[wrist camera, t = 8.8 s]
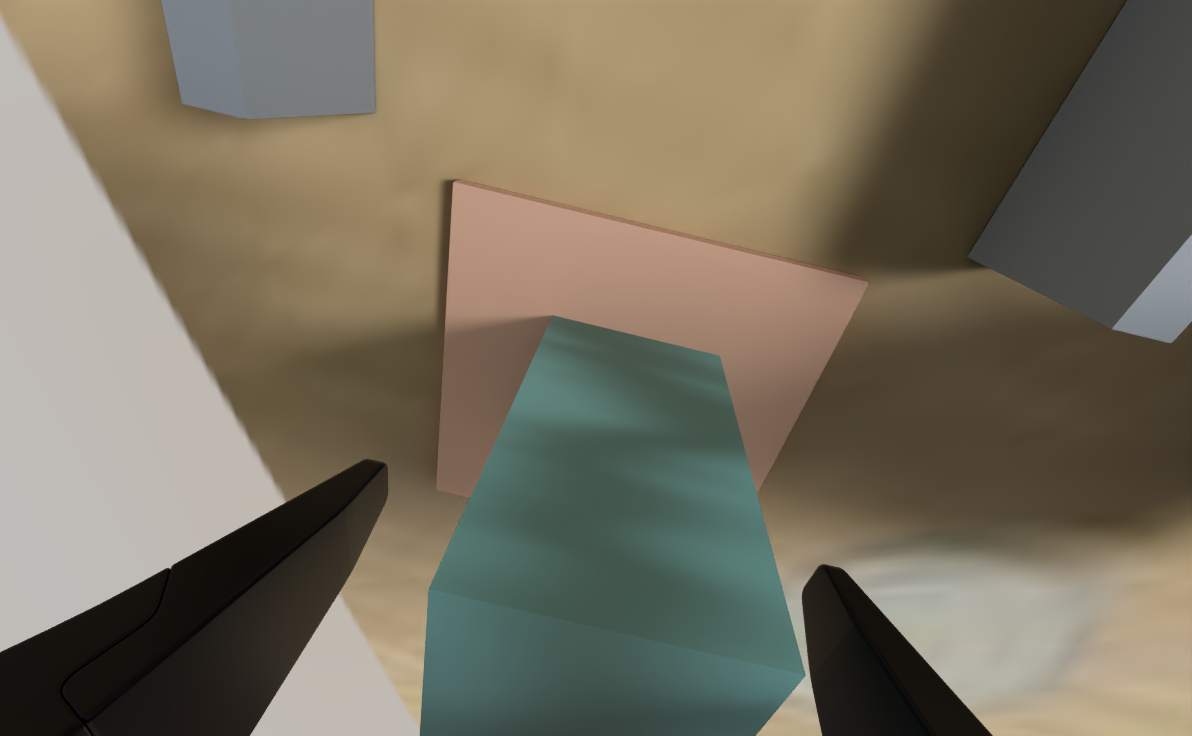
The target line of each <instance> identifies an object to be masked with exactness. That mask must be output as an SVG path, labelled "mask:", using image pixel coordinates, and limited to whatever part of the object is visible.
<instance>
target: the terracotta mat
mask: <svg viewBox="0 0 1192 736" xmlns="http://www.w3.org/2000/svg"><path fill="white" fill-rule="evenodd" d="M869 283H870V282H869V281H867V280H866V279H865V278H864V277H861V276H857V275H852V274H848V273H844V272H840V271H836V270H832V269H828V268H824V267H819V266H815V265H811V264H807V263H803V262H799V261H795V260H790V259H786V258H782V257H778V256H774V255H770V254H766V253H762V252H757V251H753V250H749V249H745V248H741V247H737V246H733V245H728V244H724V243H720V242H716V241H712V240H708V239H704V238H700V237H695V236H691V235H687V234H683V233H679V232H675V231H671V230H666V229H662V228H658V227H654V226H650V225H646V224H642V223H638V222H633V221H629V220H625V219H621V218H617V217H613V216H609V215H604V214H600V213H596V212H592V211H588V210H584V209H580V208H576V207H571V206H567V205H563V204H559V203H555V202H551V201H547V200H542V199H538V198H534V197H530V196H526V195H522V194H518V193H514V192H509V191H505V190H501V189H497V188H493V187H489V186H485V185H480V184H476V183H472V182H468V181H464V180H460V179H459V180H456V181H454V182H453V192H452V210H451V228H450V246H449V264H448V282H447V300H446V318H445V336H444V354H443V372H442V390H441V408H440V426H439V444H438V462H437V480H436V491H441V492H445V493H449V494H454V495H458V496H462V497H467V498H470V497H471V495H472V492H473V490H474V488H475V486H476V484H477V481H478V479H479V477H480V475H481V473H482V470H483V468H484V466H485V464H486V461H487V459H488V457H489V455H490V453H491V450H492V448H493V446H494V444H495V442H496V439H497V437H498V435H499V433H500V431H501V428H502V426H503V424H504V422H505V420H506V417H507V415H508V413H509V411H510V408H511V406H512V404H513V402H514V400H515V397H516V395H517V393H518V391H519V389H520V386H521V384H522V382H523V380H524V378H525V375H526V373H527V371H528V369H529V367H530V364H531V362H532V360H533V358H534V355H535V353H536V351H537V349H538V347H539V344H540V342H541V340H542V338H543V336H544V333H545V331H546V329H547V327H548V325H549V322H550V320H551V318H552V316H553V315H554V316H558V317H562V318H566V319H571V320H575V321H579V322H583V323H587V324H591V325H595V326H599V327H604V328H608V329H612V330H616V331H620V332H624V333H628V334H632V335H637V336H641V337H645V338H649V339H653V340H657V341H661V342H665V343H670V344H674V345H678V346H682V347H686V348H690V349H694V350H699V351H703V352H707V353H711V354H715V355H719V356H720V358H721V362H722V366H723V370H724V373H725V377H726V381H727V384H728V388H729V392H730V396H731V399H732V403H733V407H734V410H735V414H736V418H737V422H738V425H739V429H740V433H741V437H742V440H743V444H744V448H745V451H746V455H747V459H748V463H749V466H750V470H751V474H752V477H753V481H754V485H755V489H756V492H757V494H758V492H759V490H760V488H761V486H762V485H763V483H764V481H765V479H766V477H767V475H768V473H769V471H770V470H771V468H772V466H773V464H774V462H775V460H776V458H777V456H778V455H779V453H780V451H781V449H782V447H783V445H784V443H785V441H786V439H787V438H788V436H789V434H790V432H791V430H792V428H793V426H794V424H795V423H796V421H797V419H798V417H799V415H800V413H801V411H802V409H803V408H804V406H805V404H806V402H807V400H808V398H809V396H810V394H811V392H812V391H813V389H814V387H815V385H816V383H817V381H818V379H819V377H820V376H821V374H822V372H823V370H824V368H825V366H826V364H827V362H828V361H829V359H830V357H831V355H832V353H833V351H834V349H835V347H836V345H837V344H838V342H839V340H840V338H841V336H842V334H843V332H844V330H845V329H846V327H847V325H848V323H849V321H850V319H851V317H852V315H853V313H854V312H855V310H856V308H857V306H858V304H859V302H860V300H861V298H862V297H863V295H864V293H865V291H866V289H867V287H868V285H869Z"/></svg>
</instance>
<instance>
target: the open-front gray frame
mask: <svg viewBox="0 0 1192 736" xmlns="http://www.w3.org/2000/svg"><path fill="white" fill-rule="evenodd" d="M161 3H162V8H163V13H164V17H165V22H166V27H167V32H168V37H169V42H170V47H171V52H172V57H173V62H174V67H175V72H176V77H177V82H178V87H179V91H180V96H181V101H182V104H185V105H189V106H193V107H197V108H201V109H206V110H210V111H214V112H218V113H222V114H226V115H230V116H234V117H239V118H243V119H262V118H282V117H301V116H321V115H341V114H360V113H376V100H375V53H374V5H373V0H161ZM967 257H968V258H970V259H972V260H974V261H976V262H978V263H980V264H982V265H984V266H986V267H988V268H990V269H992V270H994V271H996V272H998V273H1000V274H1002V275H1004V276H1006V277H1008V278H1010V279H1012V280H1014V281H1016V282H1018V283H1020V284H1022V285H1025V286H1027V287H1029V288H1031V289H1033V290H1035V291H1037V292H1039V293H1041V294H1043V295H1045V296H1047V297H1049V298H1051V299H1053V300H1055V301H1057V302H1059V303H1061V304H1063V305H1065V306H1067V307H1069V308H1071V309H1073V310H1075V311H1077V312H1079V313H1081V314H1083V315H1085V316H1087V317H1089V318H1091V319H1093V320H1095V321H1097V322H1099V323H1101V324H1103V325H1105V326H1107V327H1109V328H1111V329H1114V330H1118V331H1122V332H1126V333H1130V334H1134V335H1138V336H1142V337H1147V338H1151V339H1155V340H1159V341H1163V342H1167V343H1172V342H1173V341H1174V340H1175V339H1176V338H1177V337H1178V336H1179V335H1180V334H1181V332H1182V331H1183V330H1184V329H1185V328H1186V327H1187V326H1188V325H1189V324H1190V323H1191V322H1192V0H1127V1H1126V3H1125V5H1124V6H1123V8H1122V9H1121V11H1120V13H1119V14H1118V16H1117V17H1116V19H1115V21H1114V22H1113V24H1112V25H1111V27H1110V29H1109V30H1108V32H1107V34H1106V35H1105V37H1104V38H1103V40H1102V42H1101V43H1100V45H1099V46H1098V48H1097V50H1096V51H1095V53H1094V54H1093V56H1092V58H1091V59H1090V61H1089V62H1088V64H1087V66H1086V67H1085V69H1084V70H1083V72H1082V74H1081V75H1080V77H1079V78H1078V80H1077V82H1076V83H1075V85H1074V86H1073V88H1072V90H1071V91H1070V93H1069V94H1068V96H1067V98H1066V99H1065V101H1064V102H1063V104H1062V106H1061V107H1060V109H1059V111H1058V112H1057V114H1056V115H1055V117H1054V119H1053V120H1052V122H1051V123H1050V125H1049V127H1048V128H1047V130H1046V131H1045V133H1044V135H1043V136H1042V138H1041V139H1040V141H1039V143H1038V144H1037V146H1036V147H1035V149H1034V151H1033V152H1032V154H1031V155H1030V157H1029V159H1028V160H1027V162H1026V163H1025V165H1024V167H1023V168H1022V170H1021V171H1020V173H1019V175H1018V176H1017V178H1016V179H1015V181H1014V183H1013V184H1012V186H1011V187H1010V189H1009V191H1008V192H1007V194H1006V196H1005V197H1004V199H1003V200H1002V202H1001V204H1000V205H999V207H998V208H997V210H996V212H995V213H994V215H993V216H992V218H991V220H990V221H989V223H988V224H987V226H986V228H985V229H984V231H983V232H982V234H981V236H980V237H979V239H978V240H977V242H976V244H975V245H974V247H973V248H972V250H971V252H970V253H969V255H968V256H967Z"/></svg>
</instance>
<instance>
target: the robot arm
mask: <svg viewBox="0 0 1192 736" xmlns="http://www.w3.org/2000/svg"><path fill="white" fill-rule="evenodd" d="M387 496H388V467H387V465H386V464H385V463H384V462H379V461H375V460H371V459H366V460H363V461H361V462H359V463H357V464H355V465H353V466H352V467H350V468H348V469H346V470H344V471H342V472H341V473H339V474H337V475H335V476H333V477H332V478H330V479H328V480H326V481H324V482H323V483H321V484H319V485H317V486H315V487H313V488H312V489H310V490H308V491H306V492H304V493H303V494H301V495H299V496H297V497H295V498H293V499H292V500H290V501H288V502H286V503H284V504H283V505H281V506H279V507H277V508H276V509H274V510H272V511H270V512H268V513H266V514H264V515H263V516H261V517H259V518H257V519H255V520H254V521H252V522H250V523H248V524H246V525H244V526H243V527H241V528H239V529H237V530H235V531H234V532H232V533H230V534H228V535H226V536H224V537H223V538H221V539H219V540H217V541H215V542H214V543H212V544H210V545H208V546H206V547H204V548H203V549H201V550H199V551H197V552H196V553H194V554H192V555H190V556H188V557H186V558H185V559H183V560H181V561H179V562H177V563H176V564H174V565H173V566H172V567H171V569H169V568H166V569H164V570H163V571H161V572H159V573H157V574H155V575H153V576H152V577H150V578H148V579H146V580H144V581H143V582H141V583H139V584H137V585H135V586H133V587H131V588H129V589H127V590H125V591H124V592H122V593H120V594H118V595H116V596H114V597H112V598H111V599H109V600H107V601H105V602H103V603H101V604H100V605H97V606H95V607H93V608H91V609H89V610H87V611H85V612H83V613H81V614H79V615H77V616H75V617H73V618H71V619H69V620H66V621H64V622H62V623H61V624H58V625H56V626H55V627H52V628H50V629H48V630H46V631H44V632H42V633H40V634H38V635H35V636H33V637H32V638H29V639H27V640H25V641H23V642H21V643H19V644H17V645H14V646H12V647H10V648H8V649H6V650H4V651H2V652H0V736H250V734H251V733H252V731H253V730H254V728H255V727H256V725H257V723H258V722H259V720H260V719H261V717H262V715H263V714H264V712H265V711H266V709H267V707H268V706H269V704H270V703H271V701H272V699H273V698H274V696H275V695H276V693H277V691H278V690H279V688H280V686H281V685H282V683H283V682H284V680H285V679H286V677H287V675H288V674H289V672H290V671H291V669H292V667H293V666H294V664H295V663H296V661H297V659H298V658H299V656H300V655H301V653H302V651H303V650H304V648H305V647H306V645H307V643H308V642H309V640H310V639H311V637H312V635H313V634H314V632H315V630H316V629H317V627H318V626H319V624H320V623H321V621H322V619H323V618H324V616H325V614H326V613H327V611H328V609H329V608H330V607H331V605H332V603H333V602H334V600H335V599H336V597H337V595H338V594H339V592H340V591H341V589H342V587H343V586H344V584H345V582H346V581H347V579H348V577H349V576H350V574H351V572H352V570H353V568H354V566H355V564H356V562H357V560H358V558H359V556H360V554H361V552H362V550H363V548H364V546H365V544H366V542H367V540H368V538H369V536H370V534H371V531H372V529H373V527H374V525H375V523H376V521H377V519H378V517H379V515H380V513H381V511H382V509H383V507H384V505H385V502H386V500H387ZM802 606H803V615H804V625H805V634H806V644H807V653H808V662H809V670H810V677H811V683H812V688H813V693H814V698H815V703H816V708H817V713H818V717H819V722H820V727H821V732H822V736H992V734H991V733H990V732H989V731H988V730H987V729H986V728H985V727H984V725H983V724H982V723H981V722H980V721H979V720H978V719H977V718H976V717H975V715H974V714H973V713H972V712H971V711H970V710H969V709H968V708H967V706H966V705H965V704H964V703H963V702H962V701H961V700H960V699H959V698H958V696H957V695H956V694H955V693H954V692H953V691H952V690H951V689H950V688H949V686H948V685H947V684H946V683H945V682H944V681H943V680H942V679H941V677H940V676H939V675H938V674H937V673H936V672H935V671H934V670H933V669H932V667H931V666H930V665H929V664H928V663H927V662H926V661H925V660H924V659H923V657H922V656H921V655H920V654H919V653H918V652H917V651H916V650H915V648H914V647H913V646H912V645H911V644H910V643H909V642H908V641H907V640H906V638H905V637H904V636H903V635H902V634H901V633H900V632H899V631H898V629H897V628H896V627H895V626H894V625H893V624H892V623H891V622H890V621H889V619H888V618H887V617H886V616H885V615H884V614H883V613H882V612H881V611H880V609H879V608H878V607H877V606H876V605H875V604H874V603H873V602H872V600H871V599H870V598H869V597H868V596H867V595H866V594H865V593H864V592H863V590H862V589H861V588H860V587H859V586H858V585H857V584H856V583H855V581H854V580H853V579H852V578H851V577H850V576H849V575H848V574H847V573H846V572H845V571H844V570H843V569H841V568H839V567H834V566H830V565H826V564H822V565H820V566H819V567H818V568H817V569H816V571H815V572H814V574H813V575H812V576H811V578H810V579H809V581H808V582H807V584H806V585H805V587H804V589H803V592H802Z"/></svg>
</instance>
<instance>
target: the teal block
mask: <svg viewBox="0 0 1192 736" xmlns="http://www.w3.org/2000/svg"><path fill="white" fill-rule="evenodd" d="M805 676H806V675H805V671H804V667H803V664H802V660H801V656H800V652H799V649H798V645H797V641H796V638H795V634H794V630H793V626H792V623H791V619H790V615H789V611H788V608H787V604H786V600H785V597H784V593H783V589H782V585H781V582H780V578H779V574H778V571H777V567H776V563H775V559H774V556H773V552H772V548H771V544H770V541H769V537H768V533H767V530H766V526H765V522H764V518H763V515H762V511H761V507H760V504H759V500H758V496H757V492H756V489H755V485H754V481H753V477H752V474H751V470H750V466H749V463H748V459H747V455H746V451H745V448H744V444H743V440H742V437H741V433H740V429H739V425H738V422H737V418H736V414H735V410H734V407H733V403H732V399H731V396H730V392H729V388H728V384H727V381H726V377H725V373H724V370H723V366H722V362H721V358H720V356H719V355H715V354H711V353H707V352H703V351H699V350H694V349H690V348H686V347H682V346H678V345H674V344H670V343H665V342H661V341H657V340H653V339H649V338H645V337H641V336H637V335H632V334H628V333H624V332H620V331H616V330H612V329H608V328H604V327H599V326H595V325H591V324H587V323H583V322H579V321H575V320H571V319H566V318H562V317H558V316H554V315H553V316H552V318H551V320H550V322H549V325H548V327H547V329H546V331H545V333H544V336H543V338H542V340H541V342H540V344H539V347H538V349H537V351H536V353H535V355H534V358H533V360H532V362H531V364H530V367H529V369H528V371H527V373H526V375H525V378H524V380H523V382H522V384H521V386H520V389H519V391H518V393H517V395H516V397H515V400H514V402H513V404H512V406H511V408H510V411H509V413H508V415H507V417H506V420H505V422H504V424H503V426H502V428H501V431H500V433H499V435H498V437H497V439H496V442H495V444H494V446H493V448H492V450H491V453H490V455H489V457H488V459H487V461H486V464H485V466H484V468H483V470H482V473H481V475H480V477H479V479H478V481H477V484H476V486H475V488H474V490H473V492H472V495H471V497H470V499H469V501H468V503H467V506H466V508H465V510H464V512H463V515H462V517H461V519H460V521H459V523H458V526H457V528H456V530H455V532H454V534H453V537H452V539H451V541H450V543H449V545H448V548H447V550H446V552H445V554H444V556H443V559H442V561H441V563H440V565H439V568H438V570H437V572H436V574H435V576H434V579H433V581H432V583H431V585H430V587H429V592H428V609H427V625H426V642H425V658H424V675H423V691H422V708H421V724H420V736H756V734H757V733H758V732H759V731H760V730H761V728H762V727H763V726H764V725H765V724H766V722H767V721H768V720H769V719H770V718H771V716H772V715H773V714H774V713H775V712H776V710H777V709H778V708H779V707H780V706H781V704H782V703H783V702H784V701H785V700H786V698H787V697H788V696H789V695H790V694H791V693H792V691H793V690H794V689H795V688H796V687H797V685H798V684H799V683H800V682H801V681H802V679H803V678H804V677H805Z"/></svg>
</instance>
